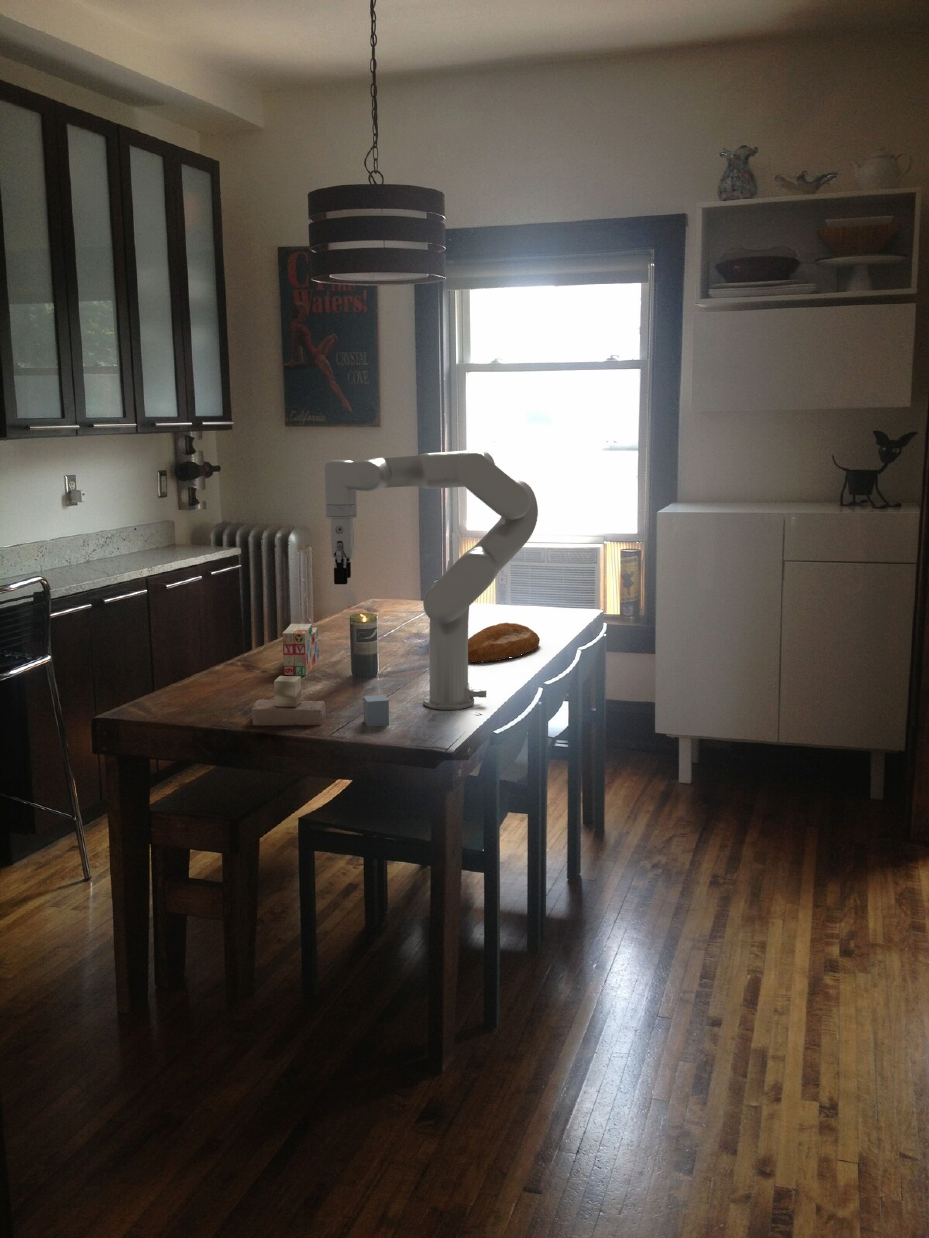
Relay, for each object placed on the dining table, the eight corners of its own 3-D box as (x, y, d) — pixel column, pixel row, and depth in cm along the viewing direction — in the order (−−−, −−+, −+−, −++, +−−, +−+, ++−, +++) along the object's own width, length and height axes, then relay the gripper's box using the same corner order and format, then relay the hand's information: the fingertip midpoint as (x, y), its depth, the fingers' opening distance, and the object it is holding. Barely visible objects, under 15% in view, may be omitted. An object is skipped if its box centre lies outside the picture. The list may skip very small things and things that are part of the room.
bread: (439, 660, 320) (439, 630, 318) (510, 639, 347) (510, 612, 345) (487, 669, 309) (487, 638, 307) (556, 647, 336) (557, 618, 335)
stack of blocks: (297, 658, 321) (296, 617, 319) (319, 658, 321) (318, 617, 319) (283, 676, 300) (282, 632, 298) (306, 676, 300) (305, 632, 298)
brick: (326, 716, 263) (325, 697, 262) (322, 727, 255) (322, 707, 254) (257, 717, 263) (256, 698, 262) (251, 728, 255) (250, 708, 254)
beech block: (301, 700, 260) (300, 676, 259) (295, 706, 255) (295, 681, 254) (280, 700, 261) (279, 675, 260) (274, 706, 256) (274, 681, 255)
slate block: (384, 719, 260) (384, 694, 259) (389, 725, 255) (388, 700, 254) (363, 720, 258) (363, 696, 257) (367, 726, 254) (367, 701, 253)
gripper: (353, 515, 258) (355, 586, 262) (359, 507, 275) (360, 575, 279) (321, 515, 258) (323, 586, 262) (329, 508, 275) (330, 575, 279)
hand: (342, 580), depth 270 cm, fingers open, 9 cm apart
